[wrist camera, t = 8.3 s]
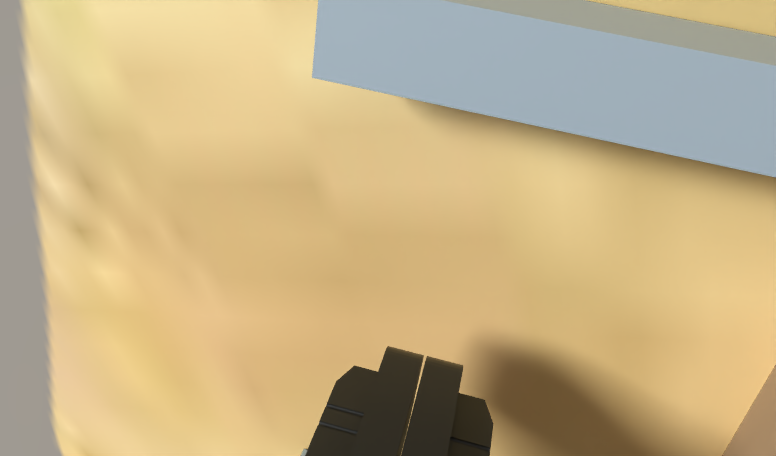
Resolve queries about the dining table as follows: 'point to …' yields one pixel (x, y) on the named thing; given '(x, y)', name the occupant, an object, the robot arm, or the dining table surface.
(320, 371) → the dining table surface
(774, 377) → the block
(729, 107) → the guide track
